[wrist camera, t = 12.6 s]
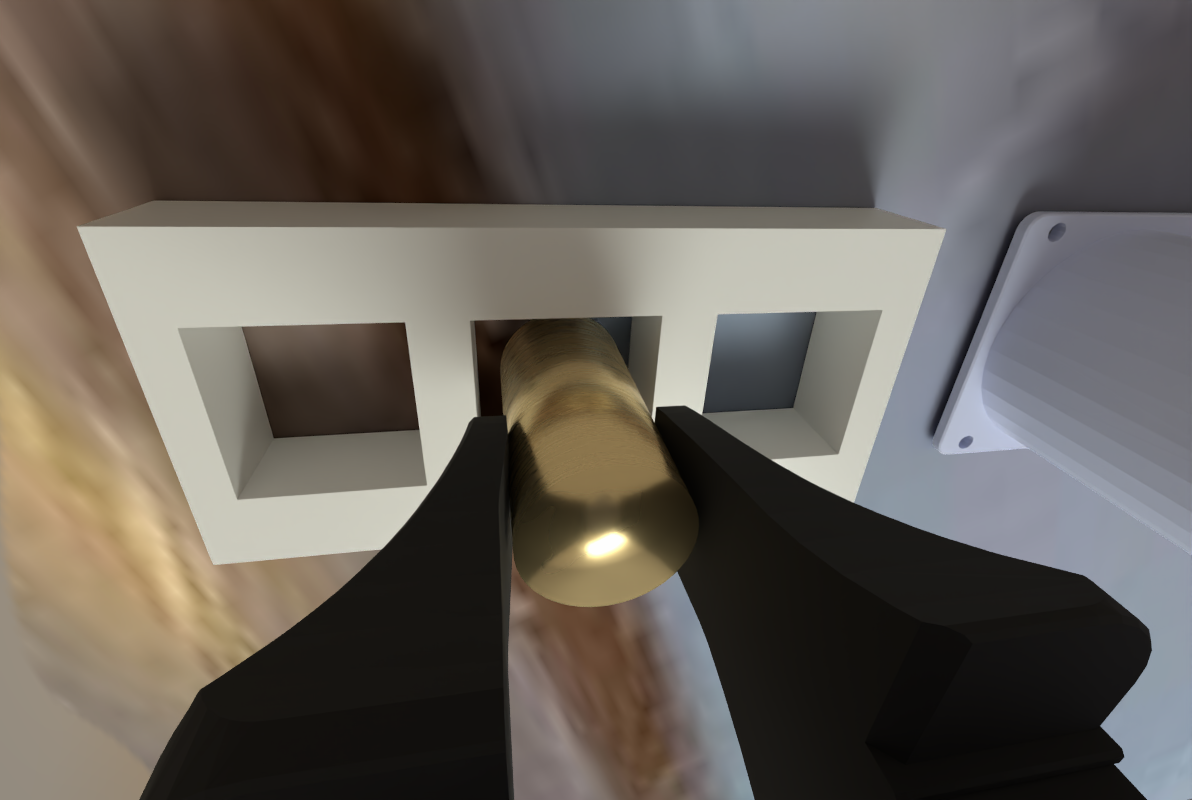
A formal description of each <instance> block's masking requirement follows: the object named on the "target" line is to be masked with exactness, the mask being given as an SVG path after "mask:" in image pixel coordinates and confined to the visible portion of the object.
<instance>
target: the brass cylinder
mask: <svg viewBox="0 0 1192 800" xmlns="http://www.w3.org/2000/svg"><path fill="white" fill-rule="evenodd" d="M500 377H501V391H502V404H503V415H506V418H507V428H508V447H509V499H510V513H511V527H512V540H513V553H514V561H515V564H516V568H517V570H518V572H519V574H520V576H521V577H522V579H523V580H524V581H525V583H526V584H527V585H528V586H529V587H530V588H532V589H533V590H534V591H535V592H537V593H538V594H540V595H541V596H543V597H545V598H547V599H549V600H552V601H555V602H558V603H562V604H566V605H571V606H579V607H596V606H606V605H613V604H617V603H621V602H625V601H628V600H631V599H634V598H636V597H639V596H641V595H643V594H645V593H647V592H649V591H651V590H653V589H655V588H656V587H658V586H659V585H661V584H662V583H664V582H665V581H666V580H668V579H669V578H670V577H671V576H673V575H674V574H675V573H676V572H677V571H678V570H679V569H680V567H681V566H682V565H683V564H684V563H685V561H686V560H687V558H688V557H689V555H690V554H691V552H692V550H693V548H694V545H695V543H696V539H697V536H698V530H699V517H698V513H697V509H696V506H695V504H694V502H693V500H692V498H691V496H690V494H689V492H688V490H687V488H686V485H685V483H684V481H683V479H682V477H681V475H680V473H679V471H678V469H677V467H676V465H675V463H674V461H673V459H672V457H671V455H670V453H669V451H668V449H667V447H666V445H665V443H664V441H663V439H662V437H661V435H660V433H659V431H658V429H657V427H656V425H655V423H654V421H653V419H652V417H651V415H650V413H649V411H648V409H647V407H646V405H645V403H644V401H643V398H642V396H641V394H640V392H639V390H638V388H637V386H636V384H635V382H634V380H633V378H632V376H631V374H630V372H629V370H628V368H627V366H626V364H625V362H624V360H623V358H622V356H621V354H620V352H619V350H618V348H617V346H616V344H615V342H614V340H613V338H612V337H611V335H610V334H609V333H608V331H607V330H606V329H605V328H604V327H603V326H601V325H600V324H599V323H597V322H596V321H594V320H593V319H590V318H551V319H533V320H531V321H529V322H528V323H526V324H525V325H523V326H522V327H521V328H520V329H518V330H517V331H516V332H515V333H514V335H513V336H512V337H511V338H510V340H509V341H508V343H507V345H506V346H505V348H504V351H503V354H502V357H501V362H500Z"/></svg>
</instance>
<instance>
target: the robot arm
mask: <svg viewBox="0 0 1192 800" xmlns="http://www.w3.org/2000/svg"><path fill="white" fill-rule="evenodd" d="M1052 227H1053V229H1052ZM1051 229H1052V231H1051V233H1050V234H1049V232H1050V230H1051ZM654 423H655V425H656V427H657V429H658V431H659V433H660V435H661V437H662V439H663V441H664V443H665V445H666V447H667V449H668V451H669V453H670V455H671V457H672V459H673V461H674V463H675V465H676V467H677V469H678V471H679V473H680V475H681V477H682V479H683V481H684V483H685V485H686V488H687V490H688V492H689V494H690V496H691V498H692V500H693V502H694V504H695V506H696V509H697V513H698V517H699V530H698V536H697V539H696V543H695V545H694V548H693V550H692V552H691V554H690V555H689V557H688V558H687V560H686V561H685V563H684V564H683V565H682V566H681V567H680V569H679V570H678V571H677V572H678V574H679V576H680V578H681V581H682V583H683V585H684V587H685V590H686V592H687V594H688V596H689V599H690V601H691V603H692V605H693V608H694V610H695V612H696V615H697V617H698V619H699V621H700V624H701V626H702V629H703V632H704V634H705V637H706V639H707V642H708V645H709V648H710V651H711V654H712V657H713V660H714V663H715V666H716V669H717V672H718V676H719V679H720V682H721V685H722V688H723V691H724V694H725V698H726V701H727V704H728V708H729V711H730V714H731V718H732V721H733V724H734V728H735V731H736V734H737V738H738V741H739V744H740V748H741V752H742V755H743V759H744V762H745V766H746V770H747V773H748V777H749V780H750V784H751V788H752V791H753V795H754V799H755V800H1147V799H1146V798H1145V797H1144V796H1143V795H1142V794H1141V793H1140V792H1139V791H1138V790H1137V788H1136V787H1135V786H1134V785H1133V784H1132V783H1131V782H1130V781H1129V780H1128V779H1127V778H1126V777H1125V776H1124V775H1123V774H1122V772H1121V771H1120V770H1119V769H1118V768H1117V767H1116V766H1115V765H1114V764H1116V763H1119V762H1120V761H1121V760H1122V759H1123V758H1124V754H1123V751H1122V748H1121V747H1120V746H1119V745H1118V744H1117V743H1116V742H1115V741H1114V740H1113V739H1112V738H1111V737H1110V736H1109V735H1108V734H1107V733H1106V732H1105V731H1104V730H1103V729H1102V728H1101V727H1100V725H1101V724H1102V723H1103V722H1104V720H1105V719H1106V718H1107V717H1108V715H1109V714H1110V713H1111V712H1112V711H1113V709H1114V708H1115V707H1116V706H1117V704H1118V703H1119V702H1120V701H1121V699H1122V698H1123V697H1124V696H1125V695H1126V693H1127V692H1128V691H1129V690H1130V688H1131V687H1132V686H1133V685H1134V684H1135V682H1136V681H1137V679H1138V678H1139V676H1140V675H1141V673H1142V672H1143V670H1144V669H1145V667H1146V666H1147V663H1148V660H1149V657H1150V654H1151V651H1152V648H1151V639H1150V633H1149V629H1148V628H1147V627H1146V626H1145V625H1144V624H1143V623H1142V622H1141V621H1140V620H1139V619H1138V618H1136V617H1135V616H1134V615H1133V614H1132V613H1130V612H1129V611H1128V610H1127V609H1125V608H1124V607H1123V606H1122V605H1121V604H1119V603H1118V602H1117V601H1116V600H1114V599H1113V598H1112V597H1111V596H1110V595H1108V594H1107V593H1106V592H1105V591H1103V590H1102V589H1101V588H1100V587H1098V586H1097V585H1096V584H1095V583H1094V582H1092V581H1091V580H1090V579H1088V578H1087V577H1085V576H1083V575H1079V574H1076V573H1072V572H1068V571H1064V570H1060V569H1056V568H1052V567H1048V566H1044V565H1040V564H1036V563H1032V562H1028V561H1024V560H1020V559H1016V558H1012V557H1008V556H1004V555H1000V554H996V553H993V552H989V551H986V550H983V549H980V548H976V547H973V546H970V545H967V544H963V543H960V542H957V541H954V540H950V539H947V538H944V537H941V536H938V535H935V534H932V533H930V532H927V531H924V530H921V529H918V528H915V527H912V526H910V525H907V524H905V523H902V522H900V521H897V520H894V519H892V518H889V517H887V516H884V515H881V514H879V513H876V512H874V511H872V510H869V509H867V508H864V507H862V506H860V505H857V504H855V503H853V502H851V501H849V500H847V499H844V498H842V497H840V496H838V495H836V494H834V493H832V492H830V491H828V490H825V489H823V488H821V487H819V486H817V485H815V484H813V483H811V482H810V481H808V480H806V479H804V478H802V477H800V476H799V475H797V474H795V473H793V472H791V471H790V470H788V469H786V468H784V467H783V466H781V465H779V464H777V463H776V462H774V461H772V460H771V459H769V458H767V457H766V456H764V455H762V454H761V453H759V452H758V451H756V450H754V449H753V448H751V447H750V446H748V445H746V444H745V443H743V442H742V441H740V440H739V439H737V438H736V437H734V436H733V435H731V434H730V433H728V432H727V431H725V430H724V429H722V428H721V427H719V426H718V425H716V424H715V423H713V422H711V421H710V420H708V419H707V418H705V417H704V416H702V415H701V414H699V413H698V412H696V411H694V410H693V409H691V408H689V407H687V406H685V405H682V406H664V407H656V413H655V422H654ZM932 444H933V447H934V448H935V449H937V450H938V451H939V452H940V453H942V454H946V455H948V454H961V453H974V452H986V451H999V450H1012V449H1024V448H1029V449H1030V450H1032V451H1033V452H1035V453H1036V454H1038V455H1039V456H1041V457H1042V458H1044V459H1045V460H1047V461H1048V462H1050V463H1051V464H1053V465H1055V466H1056V467H1058V468H1059V469H1061V470H1062V471H1064V472H1065V473H1067V474H1068V475H1070V476H1071V477H1073V478H1074V479H1076V480H1077V481H1079V482H1080V483H1082V484H1083V485H1085V486H1087V487H1088V488H1090V489H1091V490H1093V491H1094V492H1096V493H1097V494H1099V495H1100V496H1102V497H1103V498H1105V499H1106V500H1108V501H1109V502H1111V503H1112V504H1114V505H1115V506H1117V507H1118V508H1120V509H1122V510H1123V511H1125V512H1126V513H1128V514H1129V515H1131V516H1132V517H1134V518H1135V519H1137V520H1138V521H1140V522H1141V523H1143V524H1144V525H1146V526H1147V527H1149V528H1150V529H1152V530H1154V531H1155V532H1157V533H1158V534H1160V535H1161V536H1163V537H1164V538H1166V539H1167V540H1169V541H1170V542H1172V543H1173V544H1175V545H1176V546H1178V547H1179V548H1181V549H1182V550H1184V551H1185V552H1187V553H1189V554H1190V555H1192V213H1155V212H1053V211H1038V212H1034V213H1031V214H1030V215H1028V216H1026V217H1025V218H1024V219H1023V220H1022V221H1021V222H1020V224H1019V225H1018V227H1017V229H1016V231H1015V234H1014V236H1013V239H1012V241H1011V244H1010V246H1009V249H1008V251H1007V254H1006V257H1005V259H1004V262H1003V264H1002V267H1001V269H1000V272H999V274H998V277H997V279H996V282H995V284H994V287H993V289H992V292H991V294H990V297H989V299H988V302H987V304H986V307H985V309H984V312H983V314H982V317H981V319H980V322H979V324H978V327H977V329H976V332H975V334H974V337H973V339H972V342H971V344H970V347H969V349H968V352H967V354H966V357H965V359H964V362H963V364H962V367H961V369H960V372H959V374H958V377H957V379H956V382H955V384H954V387H953V390H952V392H951V395H950V397H949V400H948V402H947V405H946V407H945V410H944V412H943V415H942V417H941V420H940V422H939V425H938V427H937V430H936V432H935V435H934V437H933V441H932ZM512 547H513V540H512V527H511V513H510V499H509V447H508V428H507V418H506V415H502V416H484V417H474V418H473V419H472V420H471V421H470V422H469V423H468V426H467V429H466V431H465V433H464V436H463V438H462V440H461V442H460V444H459V446H458V447H457V449H456V451H455V453H454V455H453V456H452V458H451V460H450V461H449V463H448V465H447V466H446V468H445V470H444V471H443V473H442V474H441V476H440V478H439V479H438V481H437V482H436V484H435V485H434V486H433V488H432V489H431V490H430V492H429V493H428V495H427V496H426V497H425V499H424V500H423V501H422V503H421V504H420V506H419V507H418V508H417V510H416V511H415V512H414V513H413V515H412V516H411V517H410V518H409V519H408V521H407V522H406V523H405V524H404V525H403V527H402V528H401V529H400V530H399V531H398V532H397V533H396V534H395V536H394V537H393V538H392V539H391V540H390V541H389V542H388V543H387V544H386V545H385V547H384V548H383V549H382V550H381V551H380V552H379V553H378V554H377V555H376V556H375V557H374V558H373V559H372V560H370V561H369V562H368V563H367V564H366V565H365V566H364V567H363V568H362V569H361V570H360V571H359V572H358V573H357V574H356V575H355V576H354V577H353V578H352V579H351V580H350V581H349V582H348V583H346V584H345V585H344V586H343V587H342V588H341V589H340V590H339V591H337V592H336V593H335V594H334V595H332V596H331V597H330V598H329V599H328V600H326V601H325V602H324V603H323V604H321V605H320V606H319V607H318V608H316V609H315V610H314V611H313V612H311V613H310V614H309V615H308V616H306V617H305V618H304V619H302V620H301V621H300V622H298V623H297V624H296V625H295V626H293V627H292V628H291V629H289V630H288V631H286V632H285V633H284V634H282V635H281V636H280V637H278V638H277V639H275V640H274V641H272V642H271V643H270V644H268V645H267V646H265V647H264V648H262V649H261V650H259V651H258V652H256V653H255V654H253V655H252V656H250V657H249V658H247V659H246V660H244V661H243V662H241V663H240V664H239V665H237V666H236V667H234V668H233V669H231V670H230V671H228V672H227V673H225V674H224V675H222V676H221V677H219V678H218V679H216V680H215V681H213V682H211V683H210V684H208V685H207V686H205V687H204V688H202V689H201V690H200V691H199V692H198V694H197V695H196V697H195V699H194V701H193V702H192V704H191V706H190V708H189V709H188V711H187V713H186V714H185V716H184V717H183V719H182V720H181V722H180V723H179V725H178V727H177V728H176V730H175V731H174V733H173V735H172V737H171V738H170V740H169V742H168V744H167V746H166V747H165V749H164V751H163V753H162V755H161V756H160V758H159V760H158V762H157V764H156V766H155V768H154V770H153V773H152V775H151V777H150V779H149V781H148V783H147V785H146V787H145V789H144V791H143V793H142V795H141V797H140V800H514V788H513V767H512V745H511V724H510V703H509V681H508V637H509V615H510V593H511V570H512ZM1189 800H1192V799H1189Z"/></svg>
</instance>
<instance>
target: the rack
mask: <svg viewBox="0 0 1192 800" xmlns="http://www.w3.org/2000/svg"><path fill="white" fill-rule="evenodd" d="M77 228H78V231H79V233H80V236H81V238H82V241H83V243H84V246H85V248H86V251H87V253H88V256H89V258H90V261H91V263H92V265H93V268H94V270H95V273H96V275H97V278H98V280H99V283H100V285H101V288H102V290H103V293H104V295H105V298H106V300H107V303H108V305H109V308H110V310H111V313H112V315H113V318H114V320H115V322H116V325H117V327H118V330H119V332H120V335H121V337H122V340H123V342H124V345H125V347H126V350H127V352H128V355H129V357H130V360H131V362H132V365H133V367H134V370H135V372H136V375H137V377H138V379H139V382H140V384H141V387H142V389H143V392H144V394H145V397H146V399H147V402H148V404H149V407H150V409H151V412H152V414H153V417H154V419H155V422H156V424H157V427H158V429H159V432H160V434H161V436H162V439H163V441H164V444H165V446H166V449H167V451H168V454H169V456H170V459H171V461H172V464H173V466H174V469H175V471H176V474H177V476H178V479H179V481H180V484H181V486H182V488H183V491H184V493H185V496H186V498H187V501H188V503H189V506H190V508H191V511H192V513H193V516H194V518H195V521H196V523H197V526H198V528H199V531H200V533H201V536H202V538H203V541H204V543H205V545H206V548H207V550H208V553H209V555H210V558H211V560H212V563H213V565H218V564H229V563H240V562H250V561H261V560H272V559H282V558H293V557H304V556H314V555H325V554H336V553H346V552H357V551H368V550H378V549H383V548H384V547H385V545H386V544H387V543H388V542H389V541H390V540H391V539H392V538H393V537H394V536H395V534H396V533H397V532H398V531H399V530H400V529H401V528H402V527H403V525H404V524H405V523H406V522H407V521H408V519H409V518H410V517H411V516H412V515H413V513H414V512H415V511H416V510H417V508H418V507H419V506H420V504H421V503H422V501H423V500H424V499H425V497H426V496H427V495H428V493H429V492H430V490H431V489H432V488H433V486H434V485H435V484H436V482H437V481H438V479H439V478H440V476H441V474H442V473H443V471H444V470H445V468H446V466H447V465H448V463H449V461H450V460H451V458H452V456H453V455H454V453H455V451H456V449H457V447H458V446H459V444H460V442H461V440H462V438H463V436H464V433H465V431H466V429H467V426H468V423H469V422H470V421H471V420H472V419H473V418H474V417H481V408H480V393H479V379H478V365H477V351H476V336H475V322H474V320H512V319H551V318H590V317H629V316H632V325H631V338H630V351H629V364H628V370H629V372H630V374H631V376H632V378H633V380H634V382H635V384H636V386H637V388H638V390H639V392H640V394H641V396H642V398H643V401H644V403H645V405H646V407H647V409H648V411H649V413H650V415H651V417H652V419H653V421H654V422H655V413H656V407H664V406H682V405H685V406H687V407H689V408H691V409H693V410H694V411H696V412H698V413H699V414H701V415H702V416H704V417H705V418H707V419H708V420H710V421H711V422H713V423H715V424H716V425H718V426H719V427H721V428H722V429H724V430H725V431H727V432H728V433H730V434H731V435H733V436H734V437H736V438H737V439H739V440H740V441H742V442H743V443H745V444H746V445H748V446H750V447H751V448H753V449H754V450H756V451H758V452H759V453H761V454H762V455H764V456H766V457H767V458H769V459H771V460H772V461H774V462H776V463H777V464H779V465H781V466H783V467H784V468H786V469H788V470H790V471H791V472H793V473H795V474H797V475H799V476H800V477H802V478H804V479H806V480H808V481H810V482H811V483H813V484H815V485H817V486H819V487H821V488H823V489H825V490H828V491H830V492H832V493H834V494H836V495H838V496H840V497H842V498H844V499H847V500H849V501H851V502H853V503H854V500H855V498H856V495H857V492H858V489H859V486H860V483H861V480H862V477H863V474H864V471H865V468H866V465H867V462H868V459H869V456H870V453H871V450H872V447H873V444H874V441H875V438H876V436H877V433H878V430H879V427H880V424H881V421H882V418H883V415H884V412H885V409H886V406H887V403H888V400H889V397H890V394H891V391H892V388H893V385H894V382H895V379H896V376H897V373H898V371H899V368H900V365H901V362H902V359H903V356H904V353H905V350H906V347H907V344H908V341H909V338H910V335H911V332H912V329H913V326H914V323H915V320H916V317H917V314H918V311H919V309H920V306H921V303H922V300H923V297H924V294H925V291H926V288H927V285H928V282H929V279H930V276H931V273H932V270H933V267H934V264H935V261H936V258H937V255H938V252H939V249H940V247H941V244H942V241H943V238H944V235H945V232H946V229H944V228H941V227H937V226H934V225H931V224H927V223H924V222H921V221H918V220H914V219H911V218H908V217H904V216H901V215H898V214H894V213H891V212H888V211H884V210H881V209H878V208H822V207H726V206H630V205H534V204H438V203H342V202H246V201H151V202H148V203H145V204H142V205H139V206H136V207H133V208H130V209H127V210H124V211H121V212H118V213H115V214H112V215H109V216H106V217H103V218H100V219H98V220H95V221H92V222H89V223H86V224H83V225H80V226H77ZM785 312H817V313H816V317H815V321H814V325H813V329H812V333H811V337H810V342H809V346H808V350H807V354H806V358H805V362H804V366H803V370H802V374H801V378H800V382H799V386H798V390H797V395H796V399H795V403H794V407H793V408H785V409H768V410H751V411H734V412H717V413H702V412H703V406H704V399H705V393H706V386H707V380H708V373H709V367H710V360H711V354H712V347H713V341H714V334H715V328H716V321H717V315H718V314H746V313H785ZM395 322H405V325H406V332H407V340H408V347H409V354H410V362H411V369H412V377H413V384H414V392H415V399H416V406H417V414H418V421H419V429H420V430H409V431H392V432H375V433H358V434H341V435H323V436H306V437H289V438H274V437H273V434H272V431H271V427H270V424H269V420H268V417H267V413H266V410H265V406H264V403H263V399H262V396H261V392H260V389H259V385H258V382H257V378H256V375H255V371H254V368H253V364H252V361H251V358H250V354H249V351H248V347H247V344H246V340H245V337H244V333H243V330H242V326H277V325H317V324H356V323H395Z"/></svg>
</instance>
